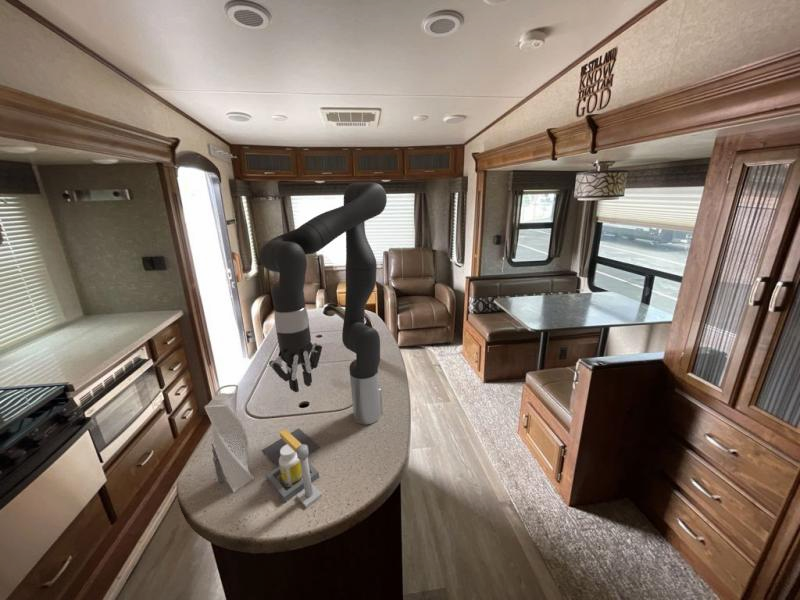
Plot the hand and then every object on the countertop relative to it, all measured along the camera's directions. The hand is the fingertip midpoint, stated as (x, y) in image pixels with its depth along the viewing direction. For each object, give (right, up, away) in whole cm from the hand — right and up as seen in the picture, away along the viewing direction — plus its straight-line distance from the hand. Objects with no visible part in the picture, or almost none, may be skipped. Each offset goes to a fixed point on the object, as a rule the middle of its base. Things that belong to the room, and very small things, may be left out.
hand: (301, 387), depth 79 cm
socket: (-1, -26, +2) cm, 26 cm away
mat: (-7, -22, +14) cm, 27 cm away
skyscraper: (-18, -26, +4) cm, 32 cm away
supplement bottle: (-3, -26, +4) cm, 26 cm away
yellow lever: (-1, -14, -3) cm, 14 cm away
